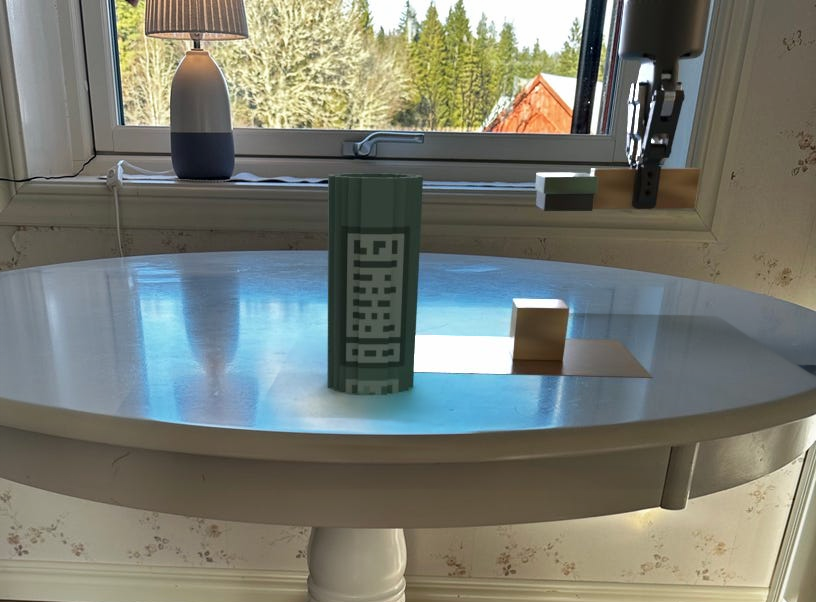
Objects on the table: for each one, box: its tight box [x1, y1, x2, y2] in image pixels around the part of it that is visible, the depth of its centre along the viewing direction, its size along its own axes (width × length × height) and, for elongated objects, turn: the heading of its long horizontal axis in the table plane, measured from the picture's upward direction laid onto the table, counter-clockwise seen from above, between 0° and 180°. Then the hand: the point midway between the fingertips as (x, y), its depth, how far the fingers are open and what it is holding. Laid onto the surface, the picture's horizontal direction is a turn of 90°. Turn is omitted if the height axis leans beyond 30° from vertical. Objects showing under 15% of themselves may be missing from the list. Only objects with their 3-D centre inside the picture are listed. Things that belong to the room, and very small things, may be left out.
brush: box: [534, 167, 702, 212], centre depth 94 cm, size 15×8×4 cm, turn 85°
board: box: [414, 334, 654, 379], centre depth 78 cm, size 20×14×2 cm
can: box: [326, 172, 424, 396], centre depth 66 cm, size 6×6×15 cm
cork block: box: [508, 298, 570, 361], centre depth 77 cm, size 4×4×4 cm
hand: (640, 206), depth 94 cm, fingers closed on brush, 2 cm apart
